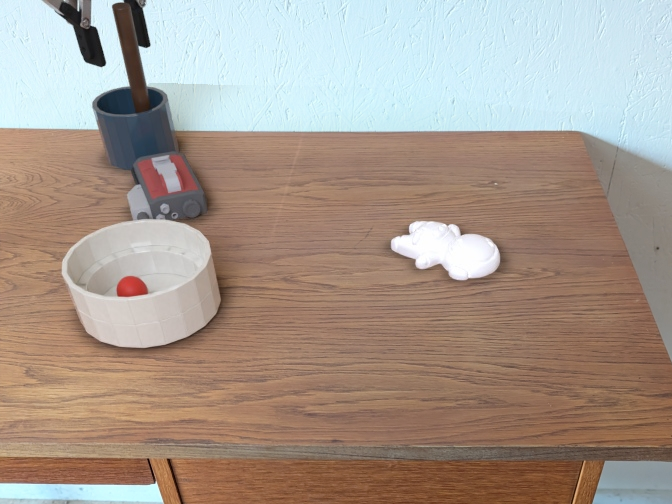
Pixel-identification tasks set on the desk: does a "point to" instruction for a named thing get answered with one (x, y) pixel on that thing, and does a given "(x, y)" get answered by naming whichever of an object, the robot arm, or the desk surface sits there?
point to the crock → (134, 126)
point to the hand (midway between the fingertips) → (117, 53)
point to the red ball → (131, 287)
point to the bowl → (154, 270)
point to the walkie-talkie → (165, 188)
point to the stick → (131, 56)
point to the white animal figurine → (448, 249)
